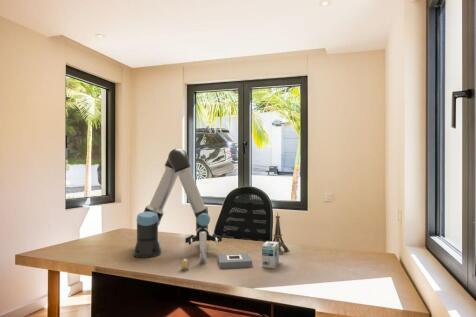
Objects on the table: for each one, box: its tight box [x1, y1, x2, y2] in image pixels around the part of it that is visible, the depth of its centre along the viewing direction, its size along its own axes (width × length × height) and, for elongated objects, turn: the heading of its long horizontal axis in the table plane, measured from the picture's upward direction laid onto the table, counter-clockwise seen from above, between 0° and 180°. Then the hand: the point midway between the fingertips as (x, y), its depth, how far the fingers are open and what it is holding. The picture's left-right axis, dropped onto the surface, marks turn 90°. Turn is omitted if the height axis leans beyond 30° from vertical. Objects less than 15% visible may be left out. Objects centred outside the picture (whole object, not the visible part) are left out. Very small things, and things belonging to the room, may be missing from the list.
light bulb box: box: [261, 240, 280, 269], centre depth 161 cm, size 11×7×11 cm, turn 161°
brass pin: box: [180, 258, 190, 272], centre depth 154 cm, size 4×4×5 cm
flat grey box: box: [217, 252, 253, 270], centre depth 163 cm, size 16×14×3 cm
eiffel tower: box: [272, 212, 290, 256], centre depth 185 cm, size 11×11×25 cm
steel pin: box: [198, 232, 207, 265], centre depth 164 cm, size 4×4×16 cm
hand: (204, 243), depth 170 cm, fingers open, 13 cm apart
